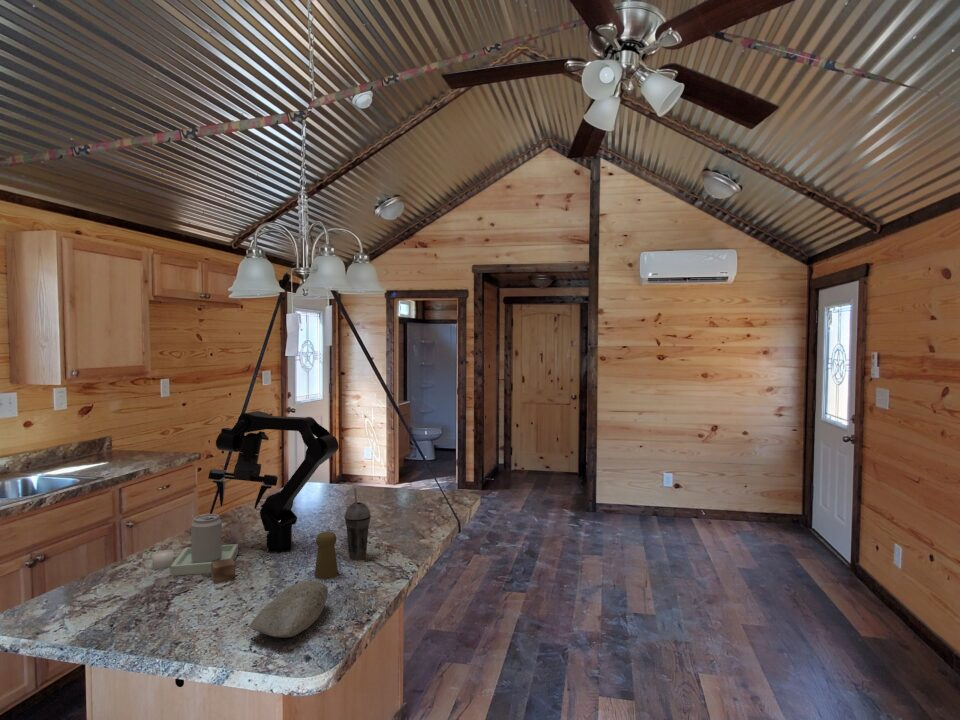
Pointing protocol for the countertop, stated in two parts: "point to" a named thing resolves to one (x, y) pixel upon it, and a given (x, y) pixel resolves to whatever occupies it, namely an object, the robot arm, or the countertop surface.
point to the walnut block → (223, 570)
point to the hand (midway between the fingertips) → (238, 507)
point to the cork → (326, 556)
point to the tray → (188, 566)
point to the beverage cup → (357, 529)
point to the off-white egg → (162, 559)
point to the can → (206, 538)
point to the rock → (292, 610)
